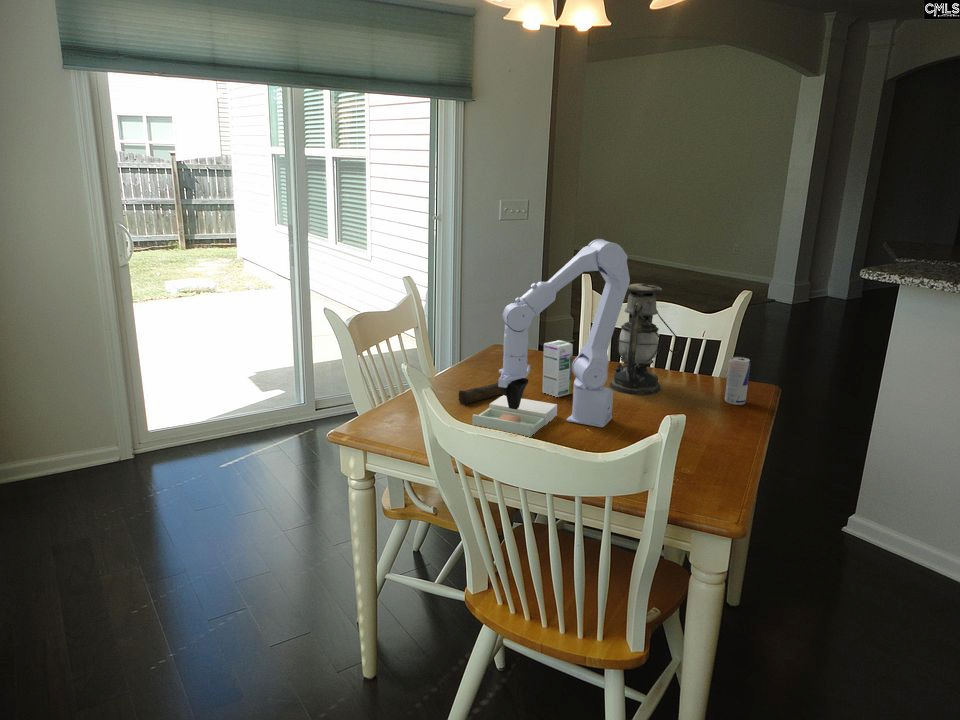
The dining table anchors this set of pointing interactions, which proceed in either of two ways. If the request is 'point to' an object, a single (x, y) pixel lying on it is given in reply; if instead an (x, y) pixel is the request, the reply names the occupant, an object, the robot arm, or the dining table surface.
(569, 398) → the dining table surface
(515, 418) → the terracotta tile
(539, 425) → the tray
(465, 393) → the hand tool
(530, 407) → the white drawer casing
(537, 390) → the dining table surface
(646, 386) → the lantern
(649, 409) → the dining table surface
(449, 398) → the dining table surface
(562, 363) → the syrup box
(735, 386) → the energy drink
